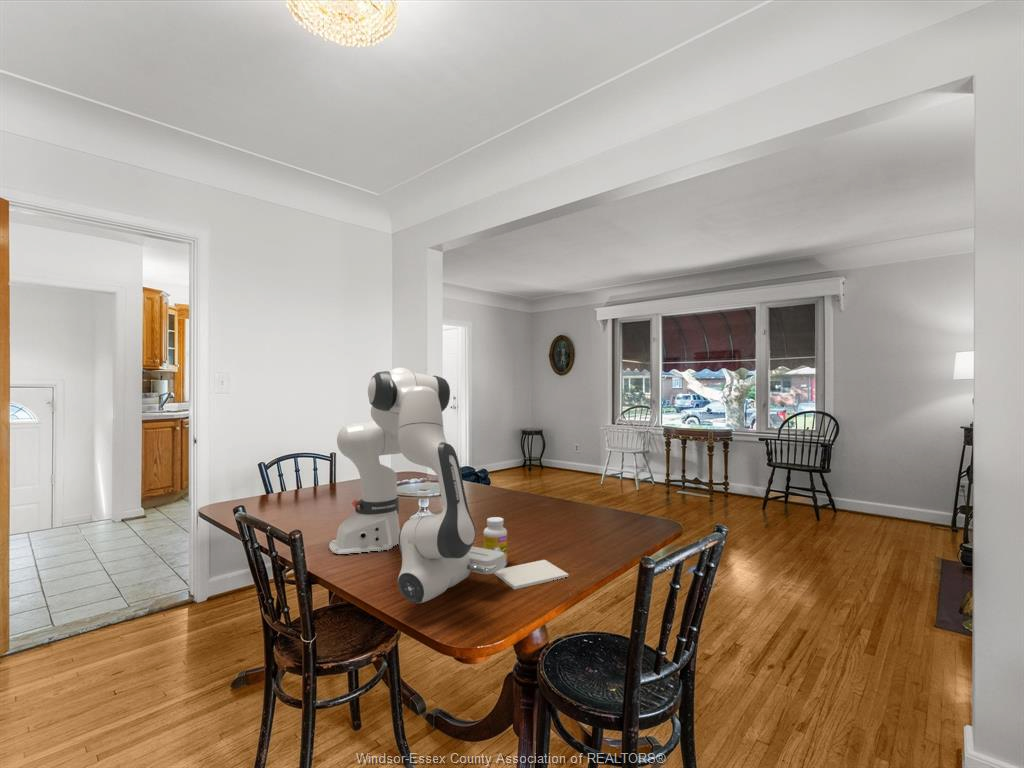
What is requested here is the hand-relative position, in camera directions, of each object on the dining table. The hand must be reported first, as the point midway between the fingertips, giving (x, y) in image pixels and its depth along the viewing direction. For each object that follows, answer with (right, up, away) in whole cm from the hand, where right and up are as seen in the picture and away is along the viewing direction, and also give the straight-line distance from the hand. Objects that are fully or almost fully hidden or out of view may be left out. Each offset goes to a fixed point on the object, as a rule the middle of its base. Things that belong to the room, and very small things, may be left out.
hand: (482, 547), depth 132 cm
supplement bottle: (+3, -7, +6) cm, 9 cm away
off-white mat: (+13, -7, -2) cm, 15 cm away
